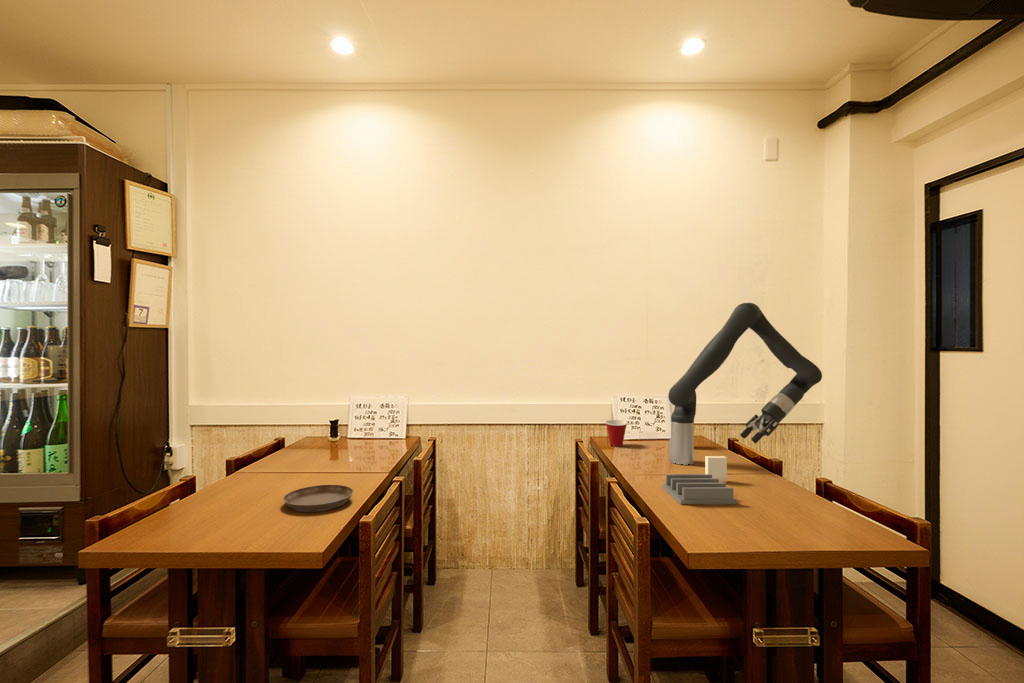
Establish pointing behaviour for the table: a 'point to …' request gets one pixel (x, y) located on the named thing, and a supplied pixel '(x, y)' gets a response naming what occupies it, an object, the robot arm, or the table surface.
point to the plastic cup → (616, 431)
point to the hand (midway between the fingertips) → (747, 439)
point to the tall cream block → (716, 467)
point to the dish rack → (698, 489)
